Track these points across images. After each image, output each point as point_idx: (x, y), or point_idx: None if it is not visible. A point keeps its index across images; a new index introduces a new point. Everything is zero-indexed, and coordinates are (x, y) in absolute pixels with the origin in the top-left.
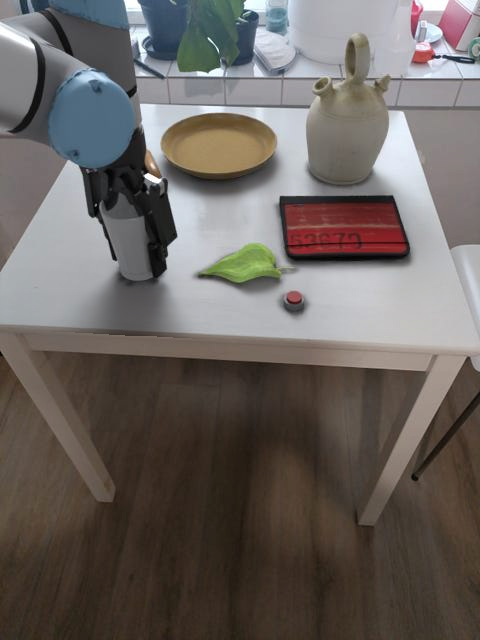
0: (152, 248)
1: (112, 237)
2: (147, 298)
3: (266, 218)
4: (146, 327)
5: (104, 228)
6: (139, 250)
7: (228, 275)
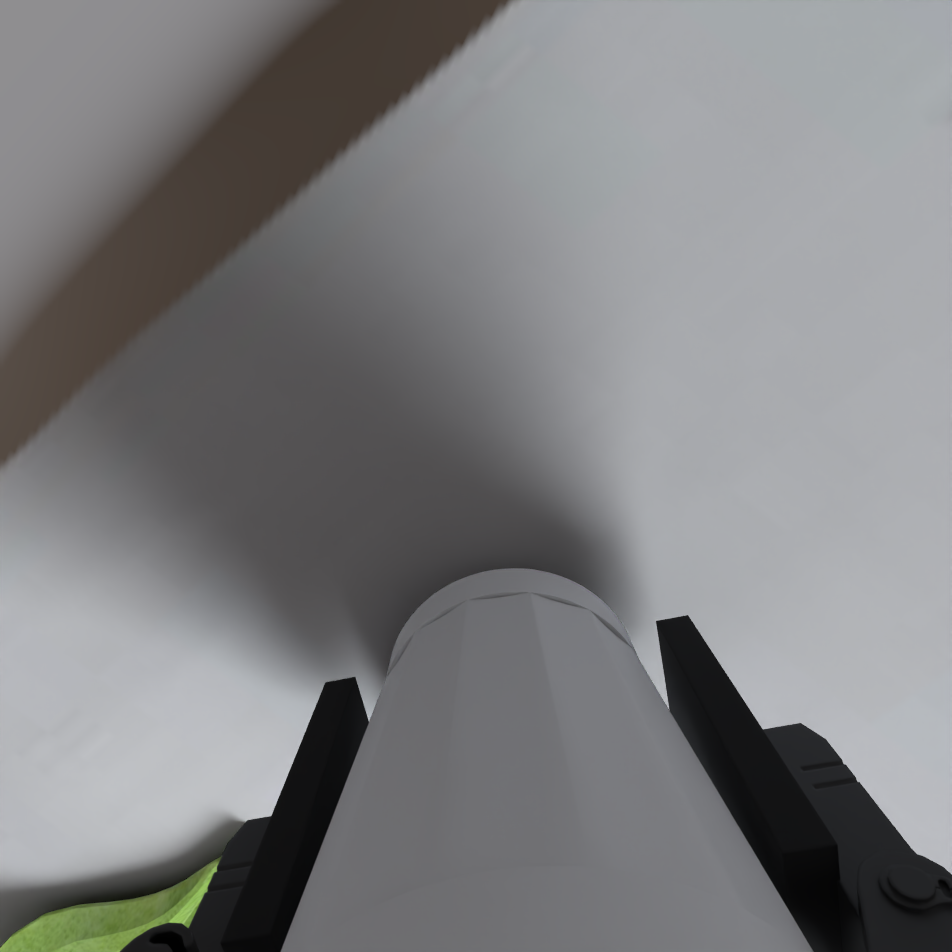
0: (163, 934)
1: (556, 815)
2: (305, 547)
3: None
4: (113, 393)
5: (857, 815)
6: (337, 825)
7: (106, 926)
